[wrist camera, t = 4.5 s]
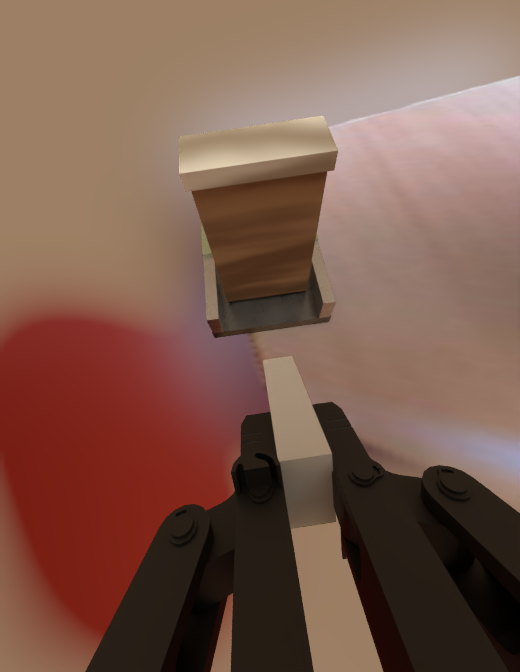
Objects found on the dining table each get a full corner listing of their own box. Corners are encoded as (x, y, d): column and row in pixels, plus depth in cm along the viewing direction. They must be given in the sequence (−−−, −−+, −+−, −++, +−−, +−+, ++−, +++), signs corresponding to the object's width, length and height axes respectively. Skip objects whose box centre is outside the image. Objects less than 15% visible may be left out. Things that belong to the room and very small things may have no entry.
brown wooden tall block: (309, 293, 30) (338, 150, 16) (225, 305, 30) (179, 173, 16) (303, 266, 31) (323, 115, 17) (223, 278, 31) (179, 136, 17)
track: (329, 321, 30) (343, 283, 23) (214, 337, 30) (196, 304, 23) (297, 204, 38) (301, 151, 31) (207, 217, 38) (192, 167, 31)
